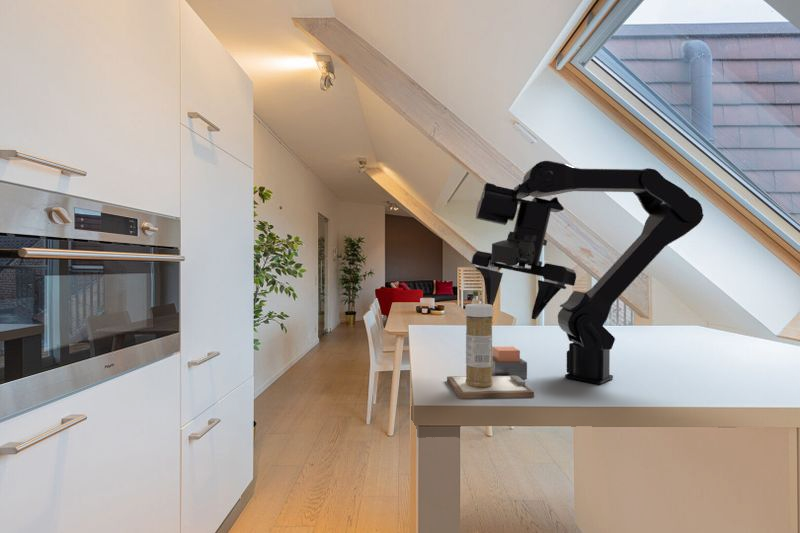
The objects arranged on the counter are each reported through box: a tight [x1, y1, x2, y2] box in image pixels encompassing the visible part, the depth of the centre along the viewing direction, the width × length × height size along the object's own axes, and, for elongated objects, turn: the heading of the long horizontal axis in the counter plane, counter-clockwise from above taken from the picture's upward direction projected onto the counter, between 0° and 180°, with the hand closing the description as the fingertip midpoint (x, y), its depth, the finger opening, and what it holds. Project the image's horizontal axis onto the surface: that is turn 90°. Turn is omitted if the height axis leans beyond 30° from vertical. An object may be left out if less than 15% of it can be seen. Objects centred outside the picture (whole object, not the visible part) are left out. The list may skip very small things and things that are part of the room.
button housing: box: [492, 357, 528, 380], centre depth 85 cm, size 6×6×3 cm
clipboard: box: [446, 375, 535, 400], centre depth 76 cm, size 12×10×2 cm
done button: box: [492, 345, 521, 362], centre depth 85 cm, size 4×4×3 cm
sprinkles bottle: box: [464, 303, 494, 387], centre depth 75 cm, size 5×5×14 cm
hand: (510, 312), depth 83 cm, fingers open, 9 cm apart
